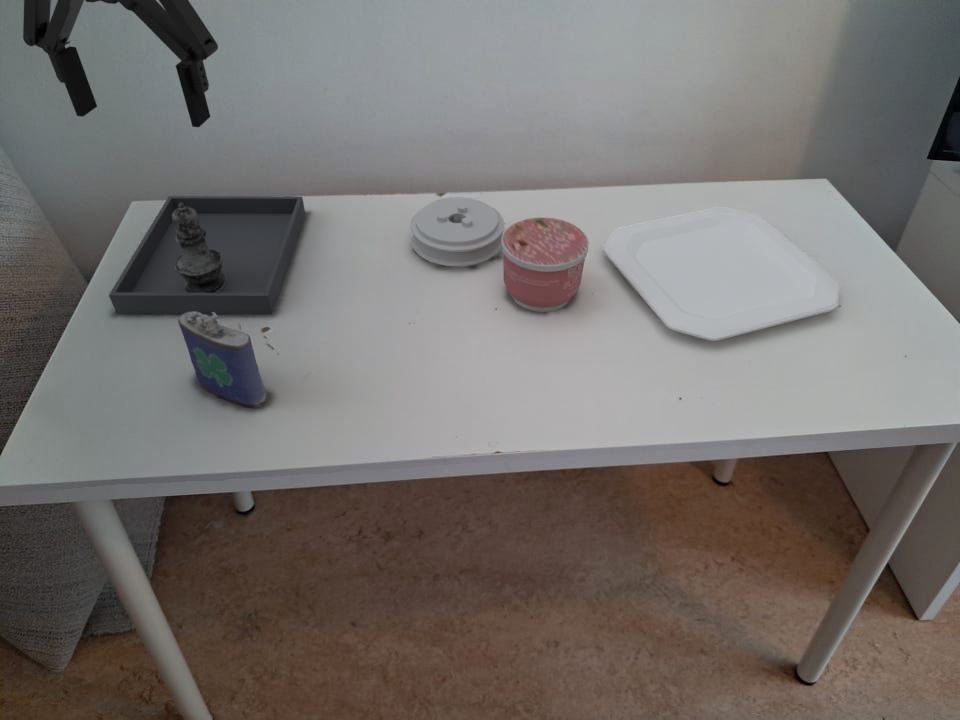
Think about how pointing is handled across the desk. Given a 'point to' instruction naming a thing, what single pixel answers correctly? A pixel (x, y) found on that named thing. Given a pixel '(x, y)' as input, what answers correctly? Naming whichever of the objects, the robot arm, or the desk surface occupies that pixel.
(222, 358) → the flask
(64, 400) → the desk surface
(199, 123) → the robot arm
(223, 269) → the tray
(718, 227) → the plate
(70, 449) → the desk surface
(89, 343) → the desk surface
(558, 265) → the container
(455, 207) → the grey pulley wheel
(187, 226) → the chess piece
